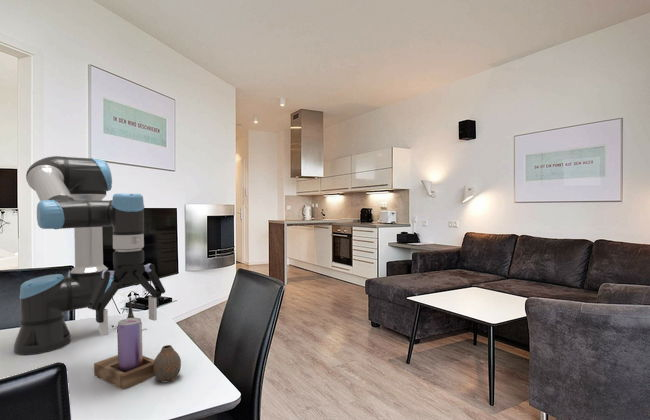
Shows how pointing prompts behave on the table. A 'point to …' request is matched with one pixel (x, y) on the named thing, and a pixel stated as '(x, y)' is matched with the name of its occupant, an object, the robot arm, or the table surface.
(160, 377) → the vase
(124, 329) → the beverage can
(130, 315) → the eiffel tower figurine
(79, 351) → the table surface
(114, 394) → the table surface
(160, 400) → the table surface
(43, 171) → the robot arm
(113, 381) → the wooden recessed tray
